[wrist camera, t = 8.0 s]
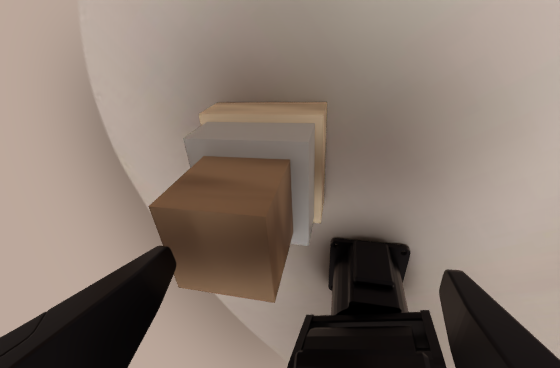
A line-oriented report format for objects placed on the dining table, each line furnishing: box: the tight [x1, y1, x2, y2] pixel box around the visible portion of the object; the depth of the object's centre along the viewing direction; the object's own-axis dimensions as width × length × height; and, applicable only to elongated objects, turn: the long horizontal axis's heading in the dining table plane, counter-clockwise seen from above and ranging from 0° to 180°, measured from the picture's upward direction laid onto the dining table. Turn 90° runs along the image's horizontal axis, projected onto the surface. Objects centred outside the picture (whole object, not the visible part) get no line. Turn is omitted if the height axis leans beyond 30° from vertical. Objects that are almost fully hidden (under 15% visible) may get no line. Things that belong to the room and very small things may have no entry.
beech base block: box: [199, 102, 327, 223], centre depth 20 cm, size 8×8×3 cm
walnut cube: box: [149, 156, 293, 303], centre depth 14 cm, size 5×5×5 cm
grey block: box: [183, 122, 315, 246], centre depth 17 cm, size 7×7×3 cm
